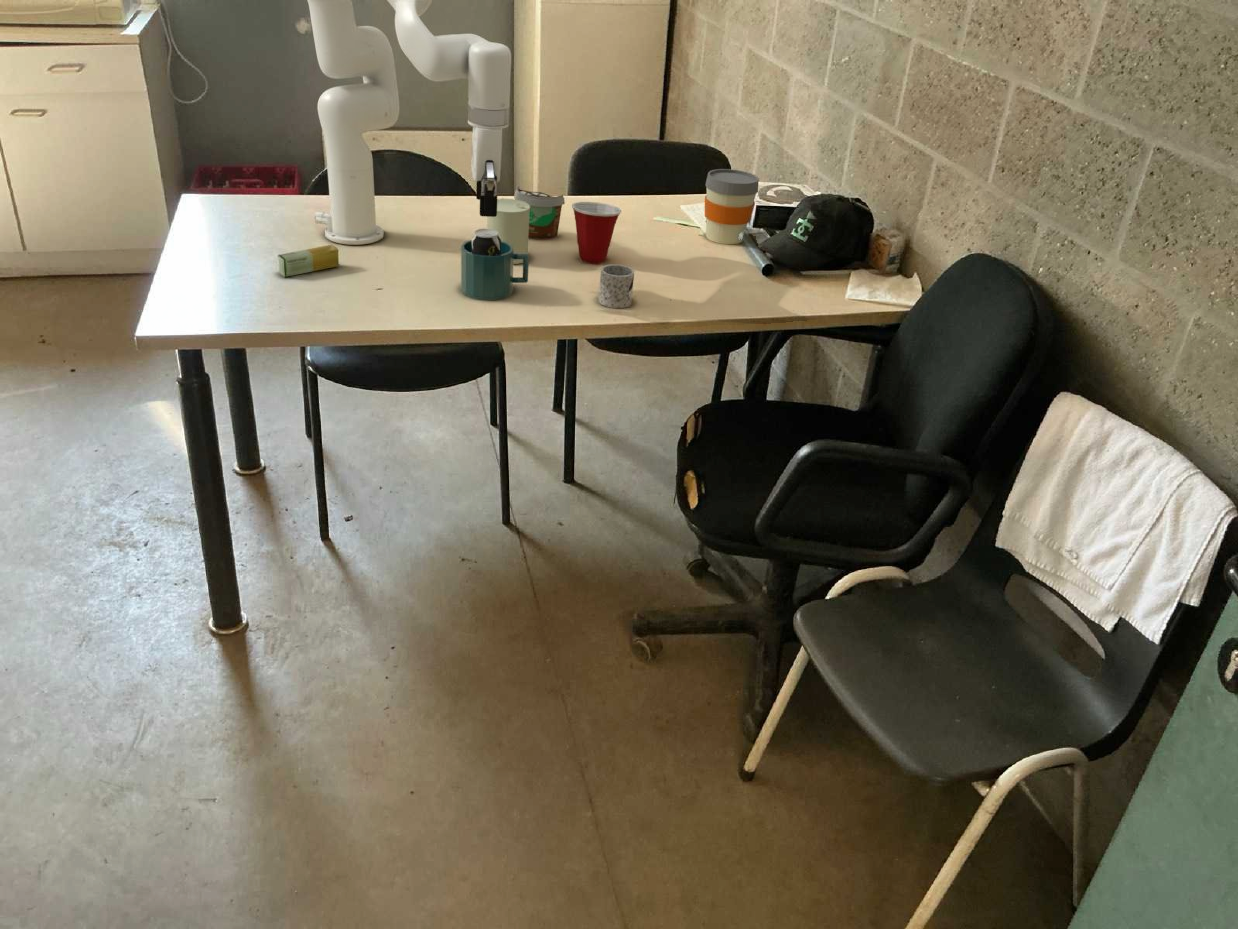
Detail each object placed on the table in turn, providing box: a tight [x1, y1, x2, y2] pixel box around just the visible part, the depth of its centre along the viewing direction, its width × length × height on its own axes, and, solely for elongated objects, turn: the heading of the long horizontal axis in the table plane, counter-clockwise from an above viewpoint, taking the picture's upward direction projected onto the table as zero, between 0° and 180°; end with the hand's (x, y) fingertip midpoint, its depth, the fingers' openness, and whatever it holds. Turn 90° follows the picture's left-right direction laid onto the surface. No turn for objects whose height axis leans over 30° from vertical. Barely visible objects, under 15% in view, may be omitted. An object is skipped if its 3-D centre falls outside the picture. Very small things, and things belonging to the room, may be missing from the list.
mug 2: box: [598, 263, 635, 309], centre depth 195 cm, size 10×7×7 cm, turn 17°
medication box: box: [277, 244, 340, 279], centre depth 195 cm, size 12×3×4 cm, turn 132°
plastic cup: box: [571, 201, 622, 265], centre depth 212 cm, size 11×11×12 cm
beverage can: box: [471, 228, 501, 256], centre depth 190 cm, size 6×6×12 cm
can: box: [486, 198, 530, 265], centre depth 209 cm, size 9×9×12 cm
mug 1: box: [460, 239, 530, 301], centre depth 193 cm, size 13×10×9 cm
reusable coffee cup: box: [704, 168, 760, 245], centre depth 232 cm, size 13×13×15 cm
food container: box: [513, 185, 566, 240], centre depth 223 cm, size 12×6×10 cm, turn 68°
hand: (486, 207), depth 186 cm, fingers open, 9 cm apart
